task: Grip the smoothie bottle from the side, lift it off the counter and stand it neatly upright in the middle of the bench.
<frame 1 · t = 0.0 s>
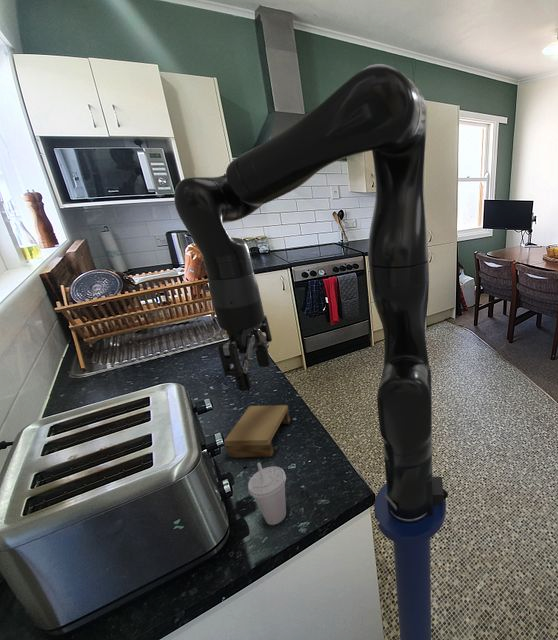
hand: (255, 376, 67), 25 cm above the counter, tool pointing down, fingers open, 8 cm apart
smoothie: (276, 516, 67), on the counter
bench: (261, 437, 87), on the counter
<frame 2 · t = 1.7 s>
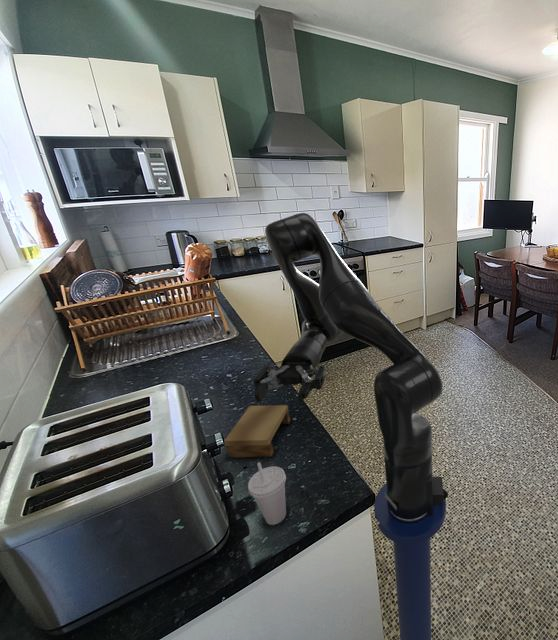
hand: (279, 397, 70), 20 cm above the counter, tool horizontal, fingers open, 8 cm apart
nothing on the counter moved.
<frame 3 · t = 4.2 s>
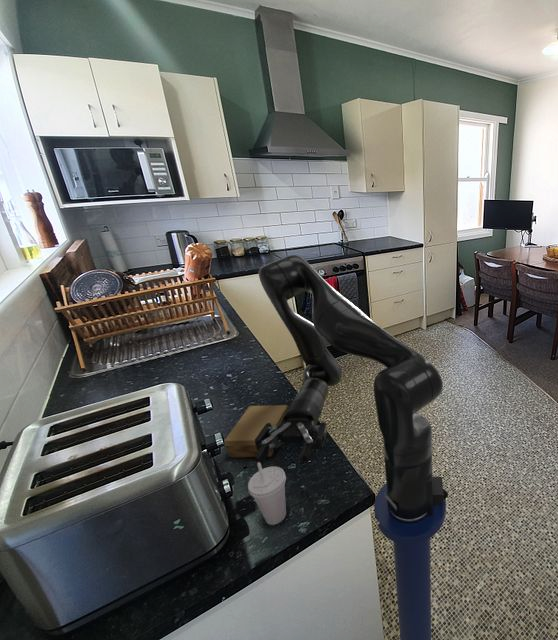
hand: (280, 461, 70), 8 cm above the counter, tool horizontal, fingers open, 8 cm apart
nothing on the counter moved.
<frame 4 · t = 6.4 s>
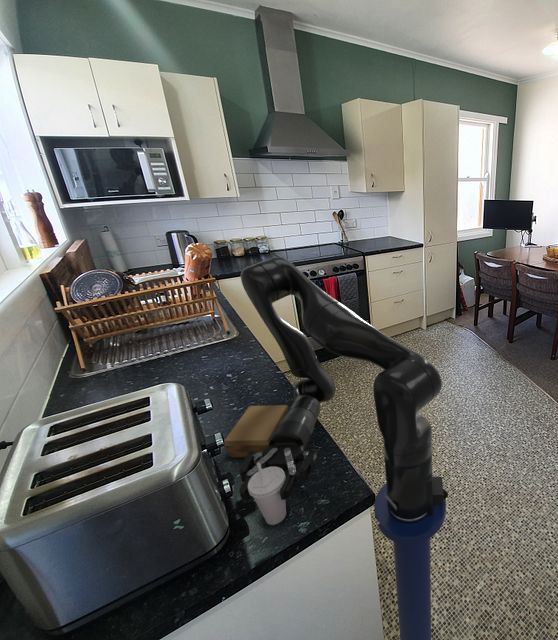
hand: (263, 496, 62), 8 cm above the counter, tool horizontal, fingers closed on smoothie, 6 cm apart
smoothie: (276, 516, 67), on the counter, touching gripper
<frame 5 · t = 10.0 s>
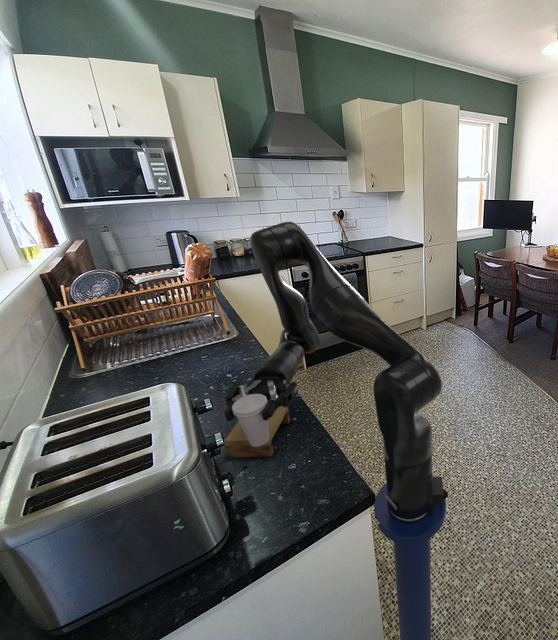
hand: (246, 417, 67), 18 cm above the counter, tool horizontal, fingers closed on smoothie, 6 cm apart
smoothie: (259, 440, 73), point 10 cm above the counter, touching gripper
when the fingers open (13 cm above the counter, at t = 13.7 s): smoothie stays where it is, resting on bench.
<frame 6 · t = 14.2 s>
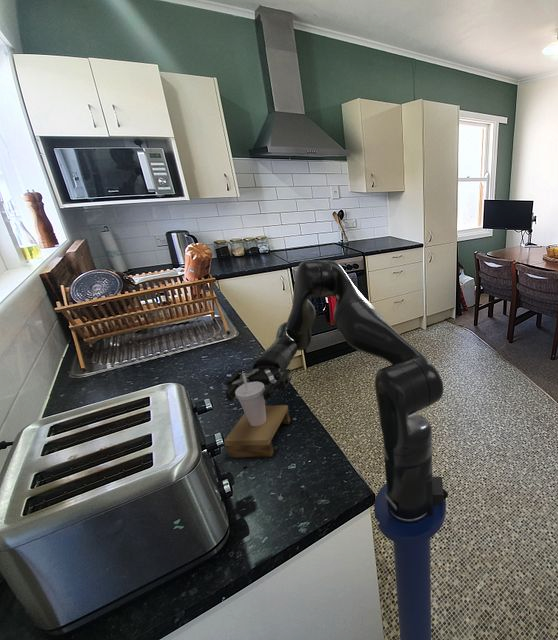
hand: (246, 397, 80), 14 cm above the counter, tool horizontal, fingers open, 8 cm apart
smoothie: (258, 422, 86), point 5 cm above the counter, touching bench
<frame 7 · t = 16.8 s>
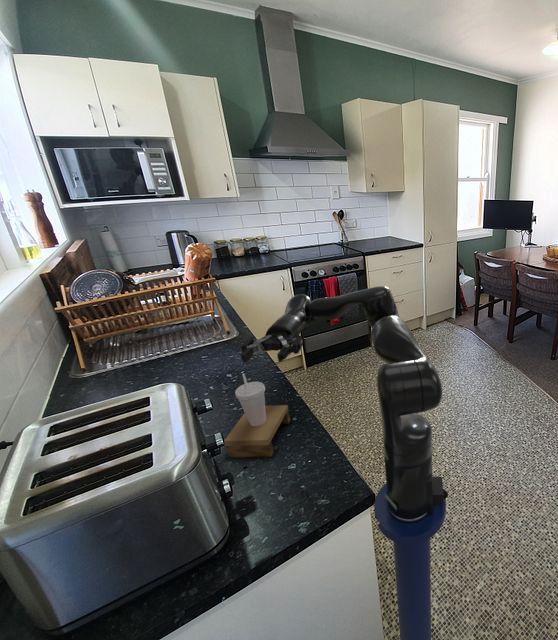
hand: (261, 358, 84), 20 cm above the counter, tool horizontal, fingers open, 8 cm apart
nothing on the counter moved.
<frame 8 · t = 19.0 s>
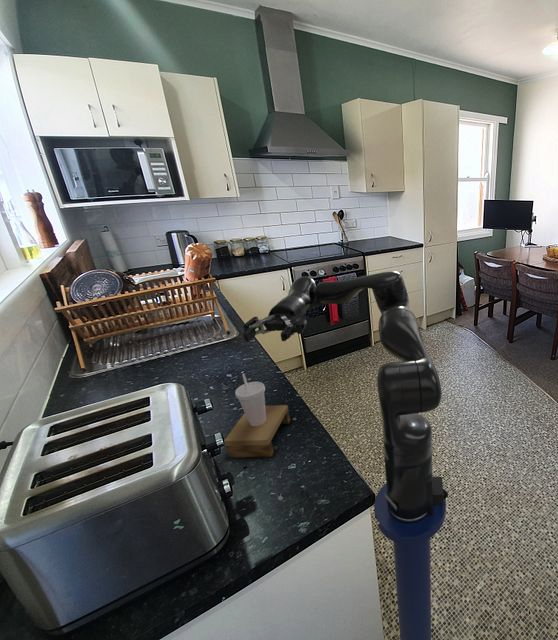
hand: (264, 338, 81), 26 cm above the counter, tool horizontal, fingers open, 8 cm apart
nothing on the counter moved.
at the end: smoothie inside the target area on the bench (0.1 cm from its centre), point 4.8 cm above the bench's base; smoothie tilted 0°; the gripper is holding nothing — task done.
